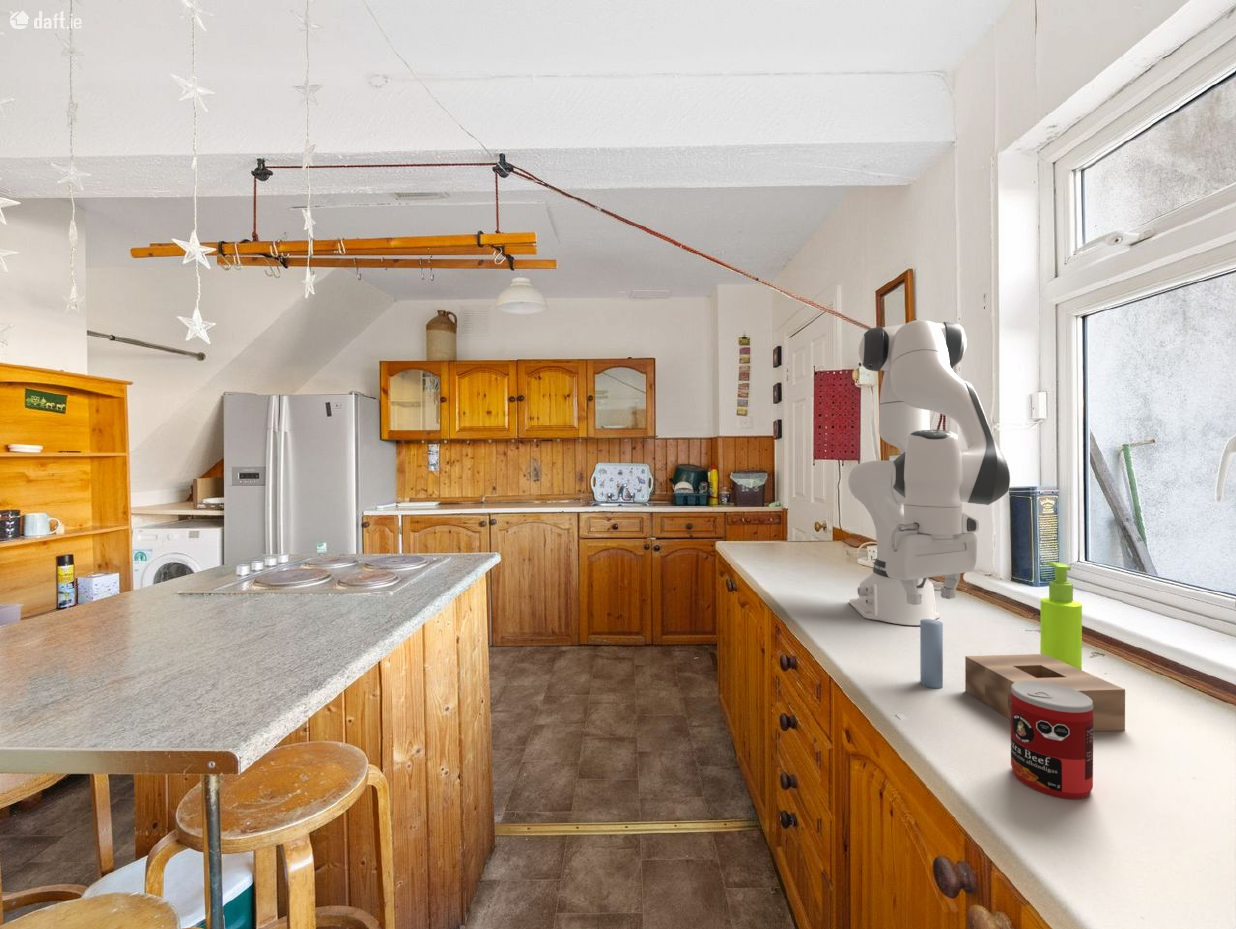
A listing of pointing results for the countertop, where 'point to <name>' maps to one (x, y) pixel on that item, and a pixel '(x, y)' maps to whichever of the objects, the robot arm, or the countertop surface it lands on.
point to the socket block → (999, 672)
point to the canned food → (1052, 738)
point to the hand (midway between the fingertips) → (931, 601)
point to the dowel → (931, 653)
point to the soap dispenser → (1061, 620)
